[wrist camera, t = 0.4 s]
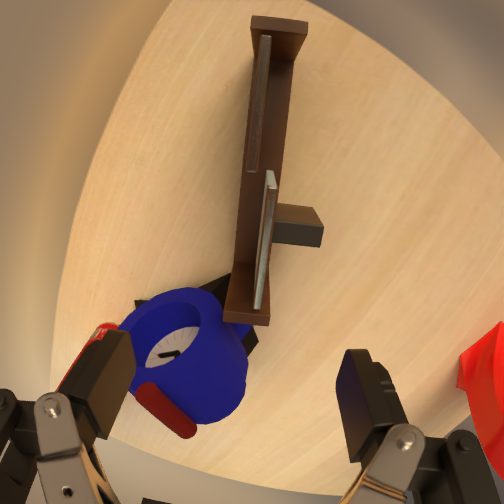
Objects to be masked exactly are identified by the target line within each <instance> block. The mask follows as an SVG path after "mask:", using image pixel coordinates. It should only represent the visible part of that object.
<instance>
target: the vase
mask: <svg viewBox="0 0 504 504" xmlns="http://www.w3.org/2000/svg"><path fill="white" fill-rule="evenodd" d="M457 388H459V389H461V390H463V391H466V393H467V397H468V402H469V406H470V411H471V415H472V419H473V422H474V426H475V429H476V432H477V435H478V438H479V440H480V443H481V446H482V448H483V450H484V452H485V454H486V456H487V458H488V460H489V462H490V463H491V465H492V466H493V468H494V469H495V471H496V472H497V473H498V475H499V476H500V477H501V478H502V479H503V480H504V323H503V322H502V321H501V322H500V323H499V324H497V325H496V326H495V327H494V328H493V329H492V330H491V331H490V332H488V333H487V334H486V335H485V336H484V337H483V338H481V339H480V340H479V341H478V342H477V343H475V344H474V345H473V346H472V347H470V348H469V349H468V350H466V351H465V352H464V353H463V354H461V355H460V363H459V373H458V380H457Z"/></svg>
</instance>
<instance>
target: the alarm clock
mask: <svg viewBox="0 0 504 504" xmlns="http://www.w3.org/2000/svg"><path fill="white" fill-rule="evenodd" d="M230 277H231V273H229V274H227V275H225V276H223V277H221V278H219V279H216V280H214V281H212V282H210V283H208V284H206V285H203V286H201V287H199V288H189V287H186V288H180V289H174V290H170V291H168V292H165V293H162V294H159V295H157V296H155V297H153V298H152V299H150V300H134V301H135V306H136V309H135V310H134V311H133V312H132V313H131V314H129V315H128V316H127V318H126V319H125V320H124V321H123V322H122V324H121V325H120V326H119V327H118V329H117V330H122V331H128V332H129V333H130V336H131V341H132V346H133V350H134V355H135V359H136V372H135V376H134V378H133V380H132V383H131V385H130V387H129V389H128V391H129V392H130V393H131V394H132V395H133V396H134V397H135V398H136V400H137V402H139V403H140V404H141V405H142V406H143V407H144V408H145V409H146V410H148V411H149V412H150V413H151V414H152V415H154V416H155V417H156V418H157V419H158V420H160V421H161V422H162V423H163V424H164V425H166V426H167V427H168V428H169V429H171V430H172V431H173V432H174V433H176V434H177V435H178V436H180V437H181V438H183V439H189V438H191V437H193V436H194V435H195V433H196V432H197V425H196V424H205V425H206V424H210V423H214V422H218V421H220V420H222V419H223V418H225V417H227V416H229V415H230V414H231V413H232V412H233V411H234V410H235V409H236V408H237V407H238V406H239V404H240V402H241V400H242V398H243V397H244V394H245V388H246V381H245V380H246V375H247V369H248V359H247V357H248V356H249V354H250V353H251V352H252V350H253V349H254V347H255V346H256V345H257V343H258V342H259V341H258V338H257V336H256V333H255V331H254V329H253V326H252V325H249V324H239V323H230V322H223V312H224V306H225V302H226V297H227V292H228V287H229V282H230Z"/></svg>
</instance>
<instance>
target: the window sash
mask: <svg viewBox="0 0 504 504" xmlns="http://www.w3.org/2000/svg"><path fill="white" fill-rule="evenodd" d="M277 196H278V186H277V185H276V180H275V176H274V172H273V171H271V170H267V171H266V179H265V188H264V196H263V205H262V214H261V222H260V231H259V239H258V248H257V256H256V267H255V285H254V297H253V309H262V307H263V300H264V293H265V285H266V278H267V271H268V264H269V257H270V249H271V242H273V243H282V244H291V245H300V246H309V247H318V248H320V246H321V241H322V235H323V230H324V226H323V224H322V222H321V221H320V219H319V217H318V215H317V214H316V212H315V210H314V209H313V208H312V207H305V206H297V205H289V204H281V203H277Z"/></svg>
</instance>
